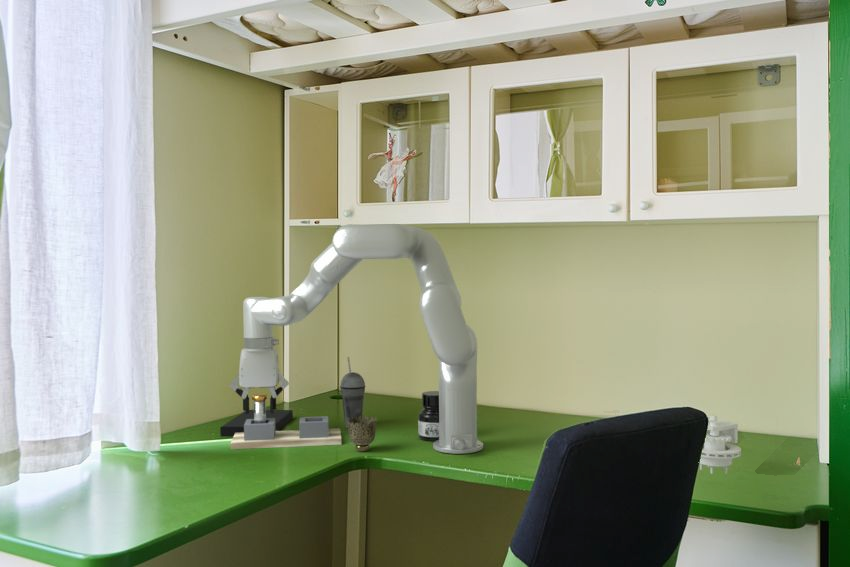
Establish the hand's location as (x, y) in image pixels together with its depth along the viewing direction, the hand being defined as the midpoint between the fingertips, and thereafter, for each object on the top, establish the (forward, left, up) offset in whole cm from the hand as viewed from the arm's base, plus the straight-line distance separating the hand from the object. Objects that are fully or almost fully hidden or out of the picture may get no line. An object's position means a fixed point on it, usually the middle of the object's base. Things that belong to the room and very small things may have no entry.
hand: (259, 412), depth 201 cm
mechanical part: (-44, -103, -8) cm, 112 cm away
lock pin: (0, 0, -7) cm, 7 cm away
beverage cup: (+14, -25, -8) cm, 30 cm away
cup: (-13, -26, -8) cm, 30 cm away
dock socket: (0, 0, -7) cm, 7 cm away
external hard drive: (+19, +2, -9) cm, 21 cm away
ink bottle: (-3, -46, -8) cm, 47 cm away
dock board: (0, -7, -8) cm, 11 cm away
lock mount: (0, -14, -7) cm, 15 cm away
